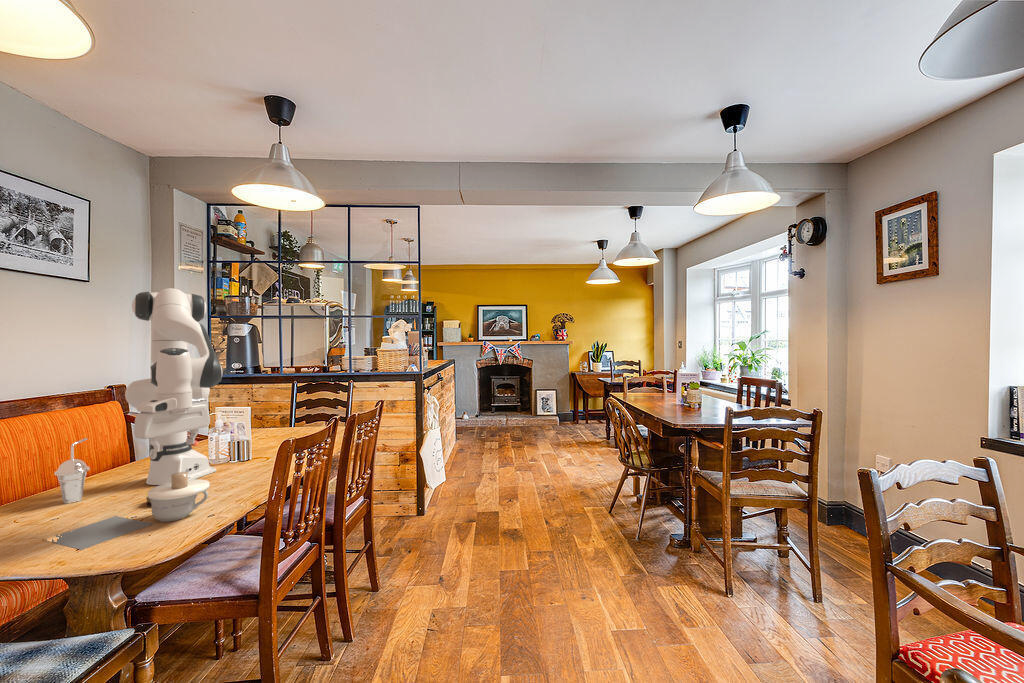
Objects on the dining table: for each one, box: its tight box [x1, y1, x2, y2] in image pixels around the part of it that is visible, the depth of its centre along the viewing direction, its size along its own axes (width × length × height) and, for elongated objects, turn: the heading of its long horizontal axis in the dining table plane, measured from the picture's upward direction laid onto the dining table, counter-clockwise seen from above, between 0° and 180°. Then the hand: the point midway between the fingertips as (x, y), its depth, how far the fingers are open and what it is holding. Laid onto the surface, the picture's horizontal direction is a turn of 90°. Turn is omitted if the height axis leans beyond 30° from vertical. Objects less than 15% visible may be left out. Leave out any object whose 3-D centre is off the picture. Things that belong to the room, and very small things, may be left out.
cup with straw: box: [54, 437, 91, 504], centre depth 150 cm, size 8×9×20 cm
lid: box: [147, 472, 211, 500], centre depth 136 cm, size 15×15×5 cm
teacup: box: [150, 490, 209, 523], centre depth 136 cm, size 14×11×8 cm
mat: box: [45, 515, 154, 551], centre depth 126 cm, size 17×17×1 cm
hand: (174, 447), depth 137 cm, fingers open, 8 cm apart
